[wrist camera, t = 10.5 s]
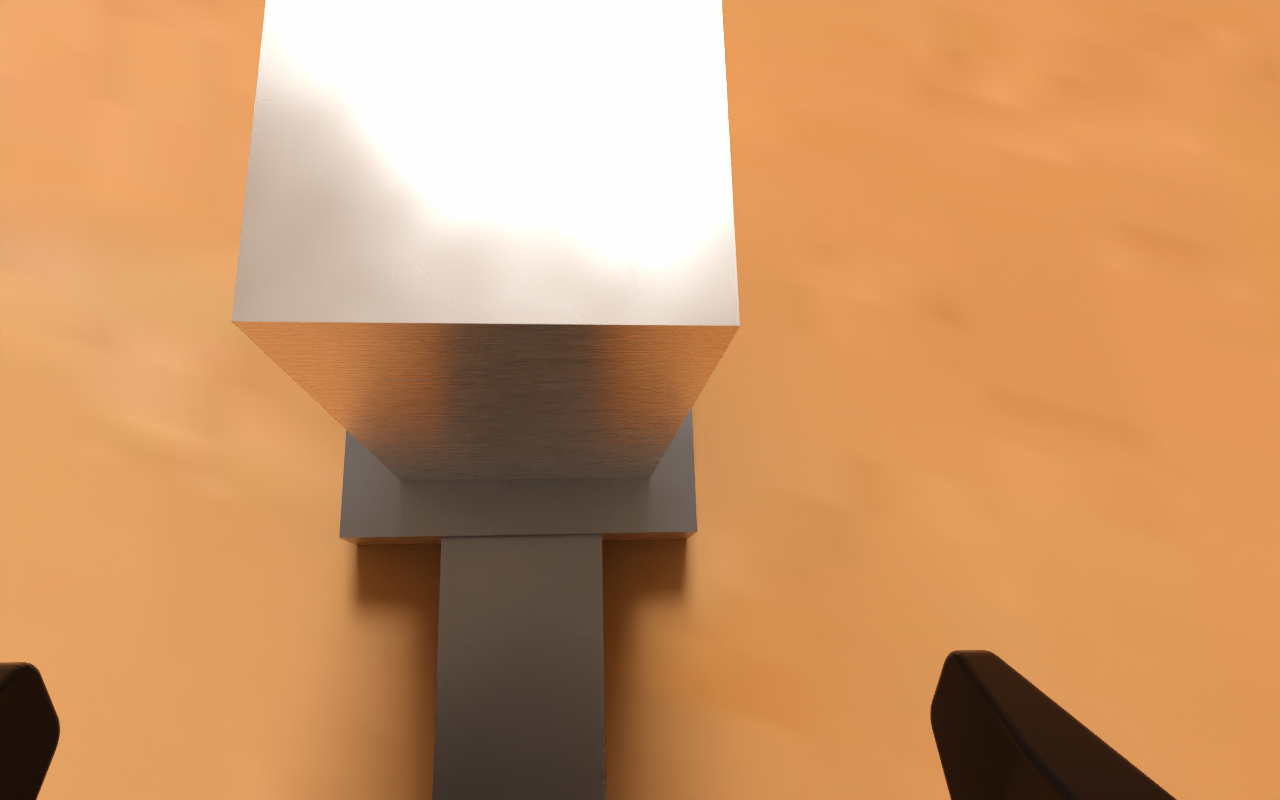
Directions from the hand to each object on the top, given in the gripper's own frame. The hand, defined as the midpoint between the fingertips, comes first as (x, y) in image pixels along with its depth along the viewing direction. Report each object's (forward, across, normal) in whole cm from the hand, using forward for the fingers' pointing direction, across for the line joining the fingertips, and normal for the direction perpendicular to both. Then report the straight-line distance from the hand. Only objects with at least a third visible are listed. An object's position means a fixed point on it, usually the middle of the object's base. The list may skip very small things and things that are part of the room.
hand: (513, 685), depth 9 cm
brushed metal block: (+10, 0, +1) cm, 10 cm away
